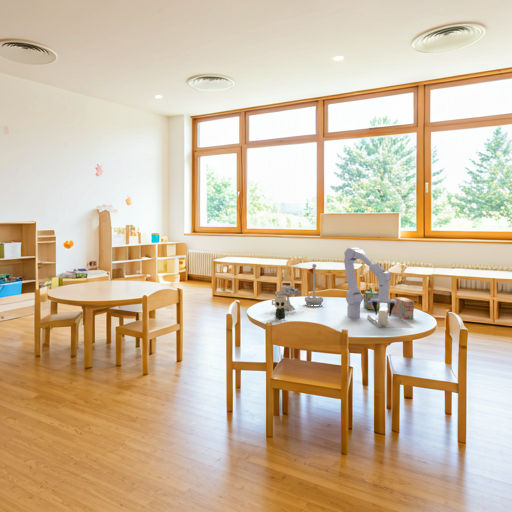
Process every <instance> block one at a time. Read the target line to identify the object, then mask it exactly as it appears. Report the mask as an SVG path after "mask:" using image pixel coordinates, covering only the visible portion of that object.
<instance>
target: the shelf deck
mask: <svg viewBox="0 0 512 512" xmlns="http://www.w3.org/2000/svg"><path fill="white" fill-rule="evenodd" d="M374 318H375V317H374ZM375 319H376V320H378V317H376V318H375ZM373 325H374V326H376V325H375V324H373ZM413 328H414V326H412V325H410V324H409V323H407V322H406V321H404V319H403V318H400V317H399V318H396V317H395V318H394V317H393V318H389V317H388V322H387V326H386V325H381V328H380V329H413Z"/></svg>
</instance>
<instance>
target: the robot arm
mask: <svg viewBox="0 0 512 512" xmlns="http://www.w3.org/2000/svg"><path fill="white" fill-rule="evenodd" d="M343 260H344V261H343V265H344V270H345V276H346V282H347V288H348V290H347V291H346V292H345V294H346V297H345V301H346V303H347V313H346V314H347V316H348V318H351V319H359V318H361V304H362V302H363V301H364V295H363V294H362V292H361V290H360V289H359V288H358V282H357V277H356V272H355V271H356V270H355V262H356V261H357V260H361V261H362V262H363V263H364V264H365V265H367V266H368V267H369V268H368V269H369V270H370V272H372V274H373V275H375V277H376V280H377V281H378V293H379V297H378V299H371V301H370V302H372V305H373V307H374V309H375V310H374V312H375V313H374V314H375V316H377V315H378V310H377V303H380V304H387V303H390V313H388V317H391V316H392V314H391V312H392V309H393V307H394V305H395V304H397V300H390V297H389V295H390V281H391V280H392V274H391V272H390V271H387V270H386V269H384V268H383V267H381V266H380V263H378V262H374V261H373V260H371V258H369V256H368V255H367V254H366V253H365V251H364V250H363V249H362V248H361V247H358V246H357V247H348V248H346V249H345V251H344V258H343Z"/></svg>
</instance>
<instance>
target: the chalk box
mask: <svg viewBox="0 0 512 512" xmlns="http://www.w3.org/2000/svg"><path fill="white" fill-rule="evenodd" d="M368 288H369V290H368V291H363V308H364V307H365V308H366V309H374V307H373V305H372V302H370V301H371V299H378V297H379V291H375V290H374V291H373V289H372V287H371V286H370V287H368ZM380 306H381V303H377V309H380ZM365 308H364V309H365ZM366 309H365V310H366Z"/></svg>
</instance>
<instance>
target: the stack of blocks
mask: <svg viewBox="0 0 512 512" xmlns="http://www.w3.org/2000/svg"><path fill="white" fill-rule="evenodd" d="M389 299H390V298H389ZM390 300H397V304H395V305H394V307H393V309H392V312H391V315H394V316H395V317H399V318H400V319H402V320H413V319H414V310H415V308H414V307H415V301H414V300H412V299H409V298H407V297H394V299H392V298H391V299H390ZM386 304H387V305H386V306H387V307H386V308H388V314H389V313H390V303H386Z"/></svg>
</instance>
